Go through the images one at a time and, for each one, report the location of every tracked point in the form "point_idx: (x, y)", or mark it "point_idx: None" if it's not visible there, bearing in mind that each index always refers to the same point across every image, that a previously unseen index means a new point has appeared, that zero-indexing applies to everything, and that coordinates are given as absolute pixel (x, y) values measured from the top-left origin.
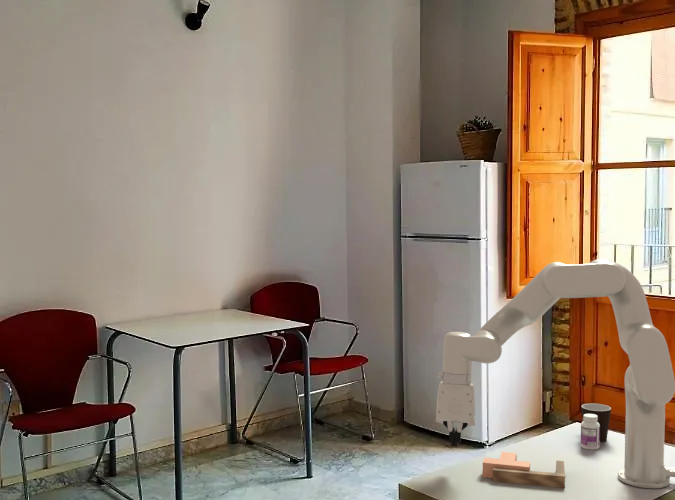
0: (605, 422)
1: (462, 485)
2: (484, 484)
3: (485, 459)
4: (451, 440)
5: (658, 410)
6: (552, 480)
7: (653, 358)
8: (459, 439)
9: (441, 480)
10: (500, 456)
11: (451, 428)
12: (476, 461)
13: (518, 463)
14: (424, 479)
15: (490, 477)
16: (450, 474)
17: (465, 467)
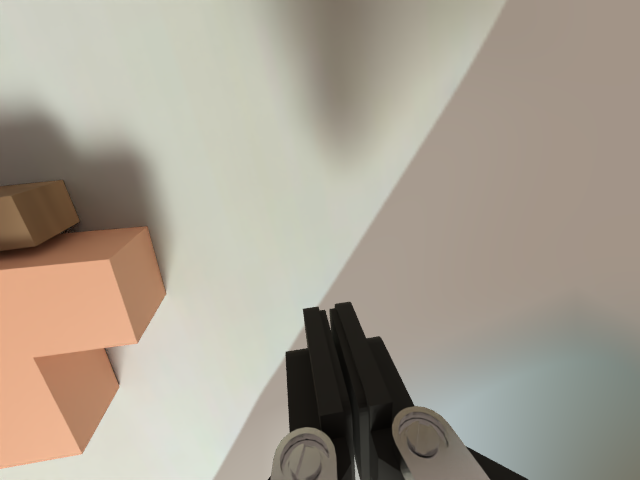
0: None
1: (205, 45)
2: (86, 112)
3: (116, 316)
4: (361, 331)
5: None
6: None
7: None
8: (293, 371)
9: (339, 92)
10: (50, 394)
11: (414, 456)
12: (242, 388)
13: None
14: (428, 75)
15: (101, 231)
16: (312, 200)
17: (267, 311)
